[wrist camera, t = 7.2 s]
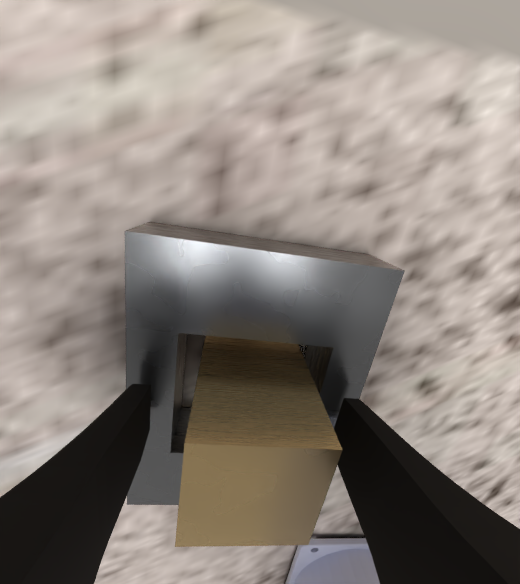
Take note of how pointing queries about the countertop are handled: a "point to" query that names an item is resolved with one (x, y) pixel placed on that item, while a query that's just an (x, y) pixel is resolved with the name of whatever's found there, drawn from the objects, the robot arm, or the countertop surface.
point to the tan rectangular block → (254, 448)
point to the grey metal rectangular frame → (241, 322)
